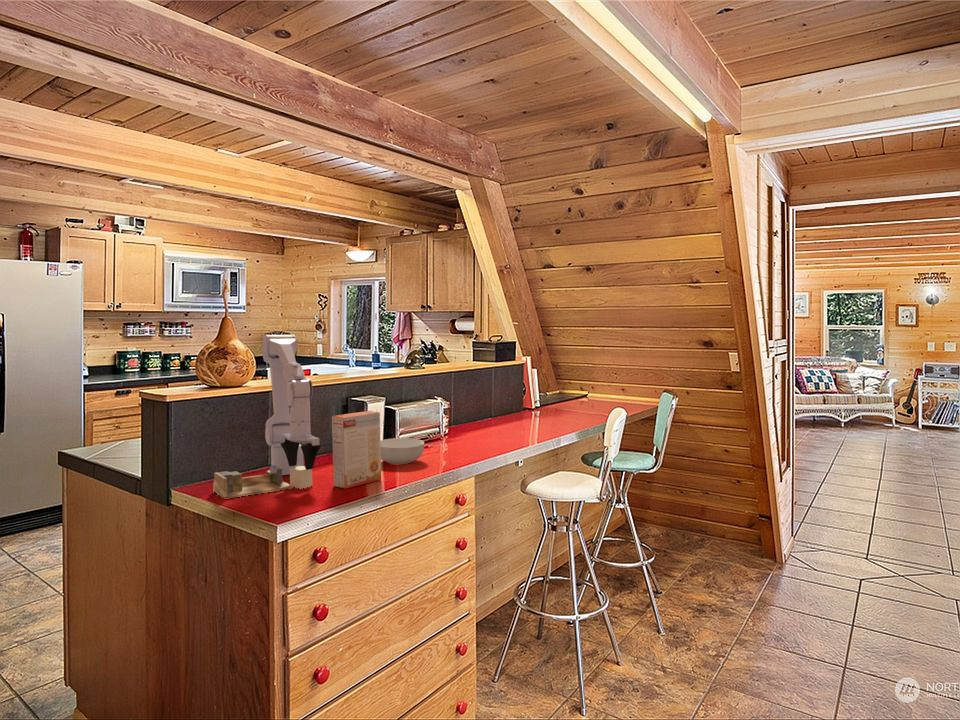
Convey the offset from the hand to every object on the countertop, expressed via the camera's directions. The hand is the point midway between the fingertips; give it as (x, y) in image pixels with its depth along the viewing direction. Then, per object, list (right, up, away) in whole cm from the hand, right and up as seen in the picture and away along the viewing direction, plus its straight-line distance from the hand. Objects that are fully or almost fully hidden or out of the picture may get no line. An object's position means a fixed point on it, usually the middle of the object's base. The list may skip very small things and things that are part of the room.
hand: (301, 467), depth 185 cm
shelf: (-12, -6, -4) cm, 14 cm away
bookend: (-7, -4, +1) cm, 9 cm away
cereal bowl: (+25, -4, +33) cm, 41 cm away
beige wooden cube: (0, -6, 0) cm, 6 cm away
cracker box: (+16, -6, +4) cm, 17 cm away
